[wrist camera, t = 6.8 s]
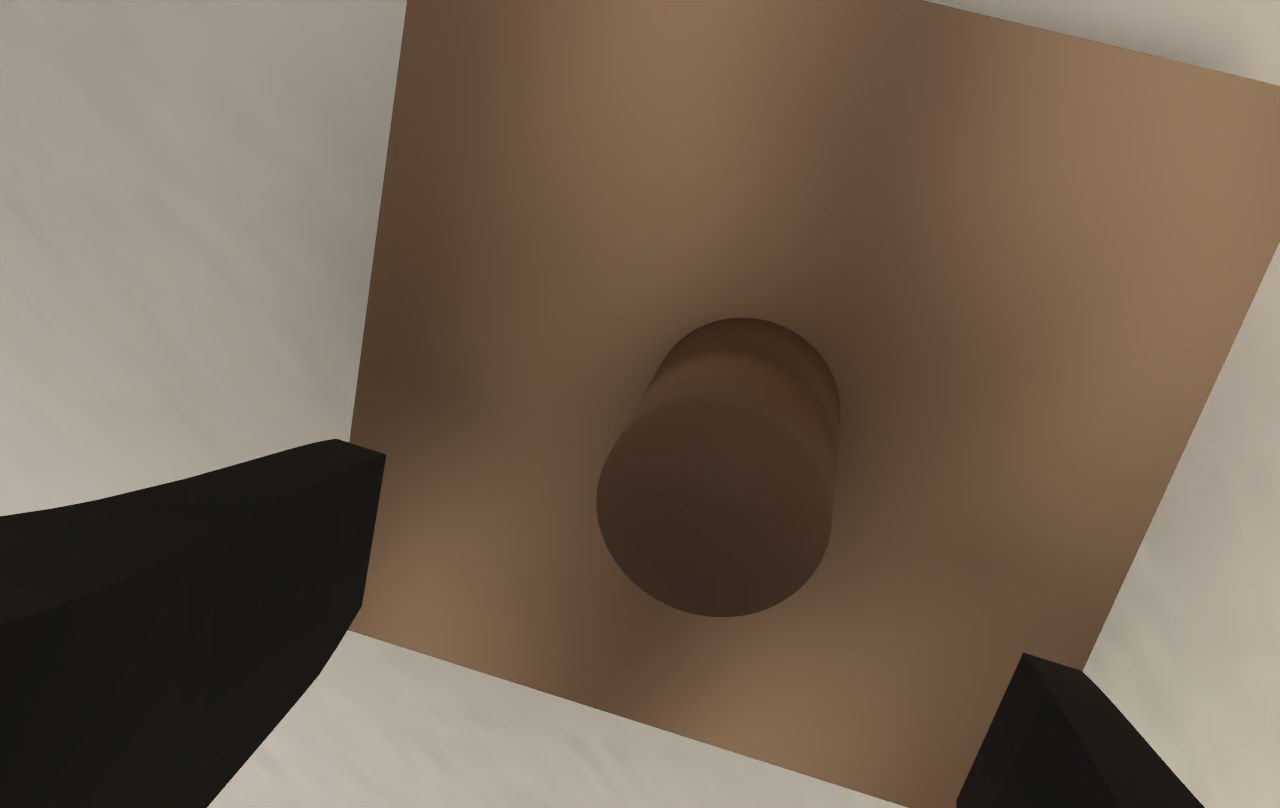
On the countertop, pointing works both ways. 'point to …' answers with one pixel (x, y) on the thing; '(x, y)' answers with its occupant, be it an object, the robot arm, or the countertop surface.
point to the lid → (791, 356)
